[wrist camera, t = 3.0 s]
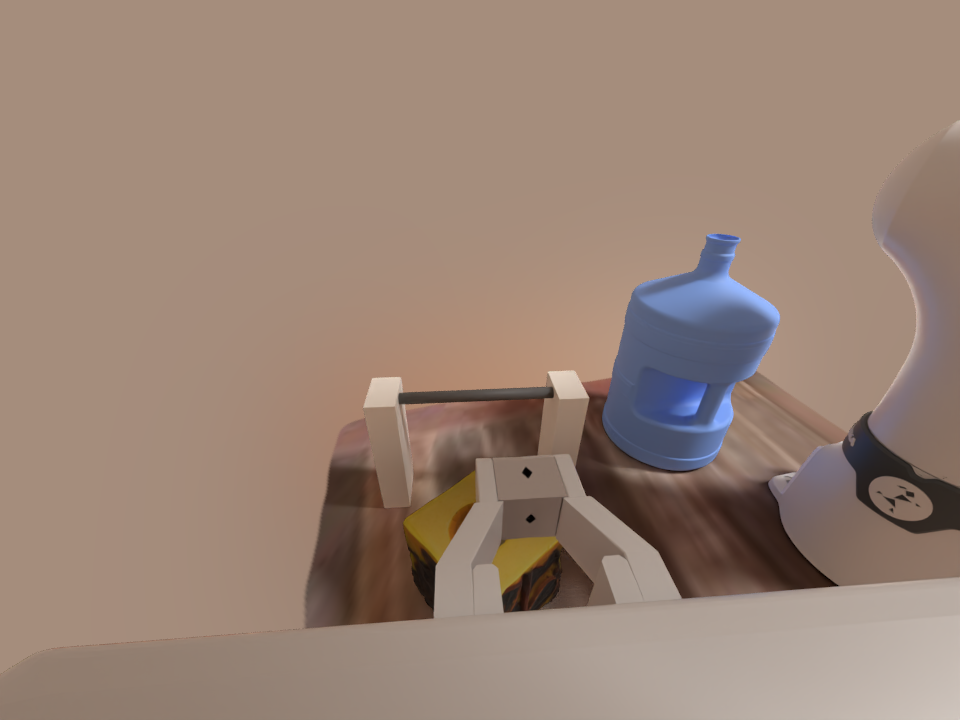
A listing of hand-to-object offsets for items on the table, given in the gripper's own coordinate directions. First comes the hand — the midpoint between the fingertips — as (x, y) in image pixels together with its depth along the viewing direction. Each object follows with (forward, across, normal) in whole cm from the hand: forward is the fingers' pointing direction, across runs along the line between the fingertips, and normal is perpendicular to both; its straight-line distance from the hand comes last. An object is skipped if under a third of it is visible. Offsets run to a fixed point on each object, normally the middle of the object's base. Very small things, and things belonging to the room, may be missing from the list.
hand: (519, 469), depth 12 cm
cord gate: (+22, 0, +28) cm, 35 cm away
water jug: (+30, -27, +28) cm, 49 cm away
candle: (+10, 0, +28) cm, 30 cm away
